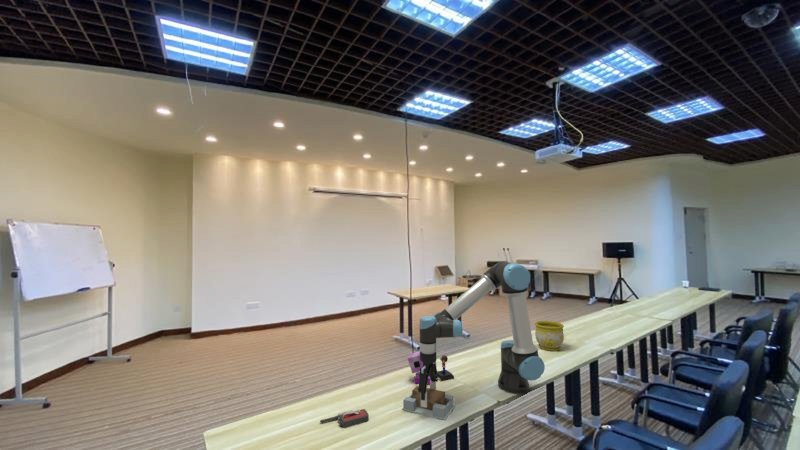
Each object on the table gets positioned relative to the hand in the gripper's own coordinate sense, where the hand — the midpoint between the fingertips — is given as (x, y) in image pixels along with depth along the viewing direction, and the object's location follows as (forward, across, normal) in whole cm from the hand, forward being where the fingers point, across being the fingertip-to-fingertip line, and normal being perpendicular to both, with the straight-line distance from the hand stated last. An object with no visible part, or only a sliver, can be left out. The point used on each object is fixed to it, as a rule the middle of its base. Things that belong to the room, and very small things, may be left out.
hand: (428, 401), depth 155 cm
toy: (+3, -26, -15) cm, 30 cm away
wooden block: (+2, 0, 0) cm, 2 cm away
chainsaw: (+4, +25, -27) cm, 37 cm away
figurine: (+3, -34, -5) cm, 35 cm away
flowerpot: (+3, -112, +44) cm, 120 cm away
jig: (+3, 0, 0) cm, 3 cm away
